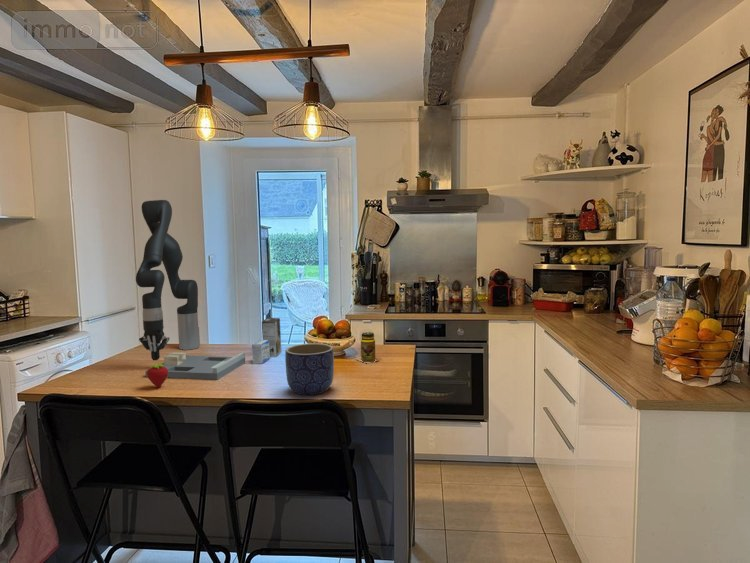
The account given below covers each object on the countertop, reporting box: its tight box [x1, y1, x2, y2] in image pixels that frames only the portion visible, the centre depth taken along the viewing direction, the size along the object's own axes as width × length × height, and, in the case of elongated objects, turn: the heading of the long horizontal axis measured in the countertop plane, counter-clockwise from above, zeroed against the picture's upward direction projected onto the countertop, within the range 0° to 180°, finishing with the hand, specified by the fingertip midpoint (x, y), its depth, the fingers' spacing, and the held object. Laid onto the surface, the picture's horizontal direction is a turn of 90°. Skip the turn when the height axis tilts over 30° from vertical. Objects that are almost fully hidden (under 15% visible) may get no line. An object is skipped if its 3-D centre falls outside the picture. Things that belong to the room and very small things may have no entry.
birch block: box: [163, 352, 187, 365], centre depth 199 cm, size 6×6×4 cm
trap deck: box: [144, 352, 246, 381], centre depth 197 cm, size 24×30×4 cm
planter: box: [284, 342, 335, 395], centre depth 168 cm, size 16×17×15 cm
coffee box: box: [261, 317, 282, 358], centre depth 219 cm, size 9×6×16 cm
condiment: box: [360, 332, 376, 363], centre depth 206 cm, size 7×8×12 cm
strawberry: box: [147, 360, 168, 388], centre depth 175 cm, size 6×8×10 cm
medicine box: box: [251, 339, 271, 365], centre depth 208 cm, size 8×4×9 cm, turn 168°
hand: (155, 359), depth 200 cm, fingers closed
